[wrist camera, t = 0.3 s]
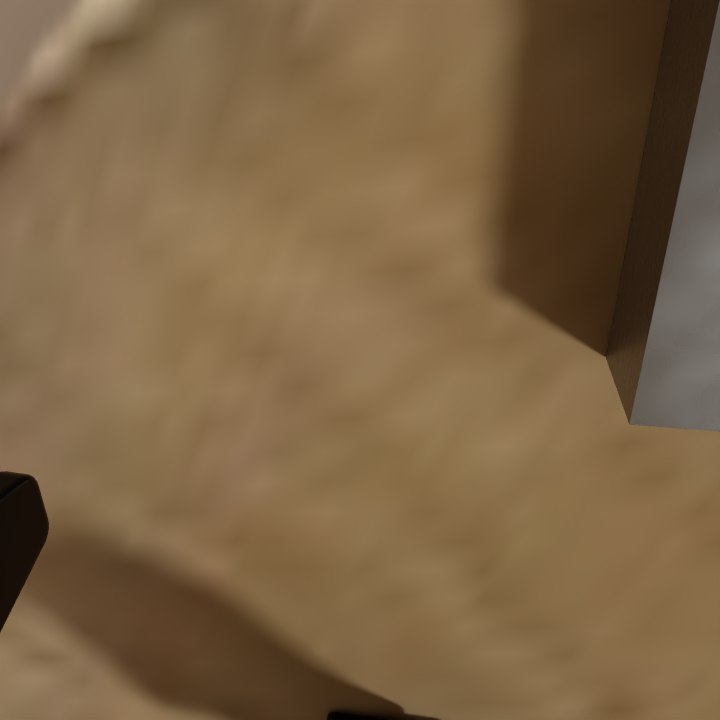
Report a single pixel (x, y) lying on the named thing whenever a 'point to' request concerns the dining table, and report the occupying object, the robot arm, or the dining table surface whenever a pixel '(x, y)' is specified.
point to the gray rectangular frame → (675, 240)
